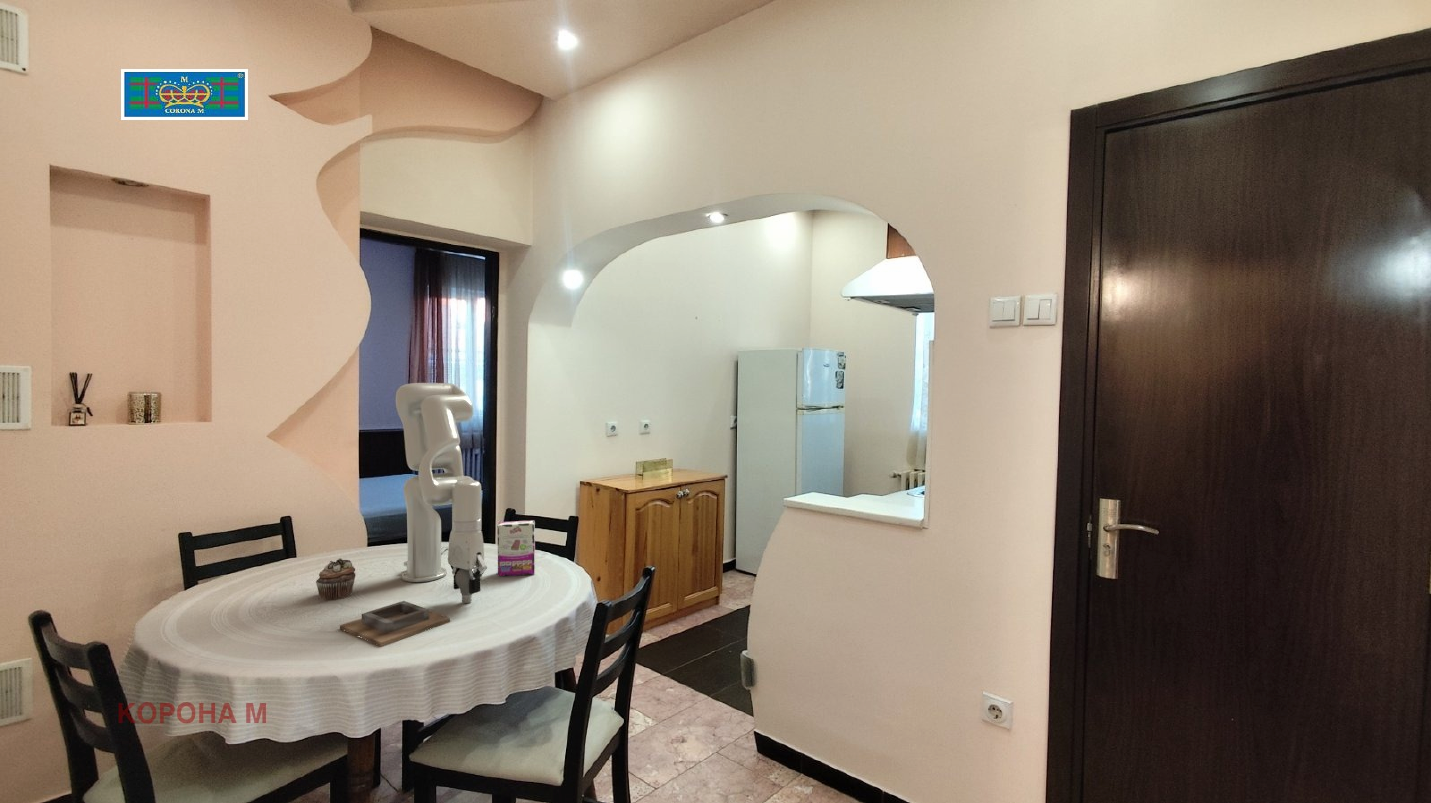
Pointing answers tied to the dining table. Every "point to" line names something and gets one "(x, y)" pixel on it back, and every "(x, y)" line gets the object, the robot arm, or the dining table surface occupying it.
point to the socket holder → (394, 623)
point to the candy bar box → (516, 548)
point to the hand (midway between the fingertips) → (466, 589)
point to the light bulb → (464, 584)
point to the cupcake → (336, 580)
